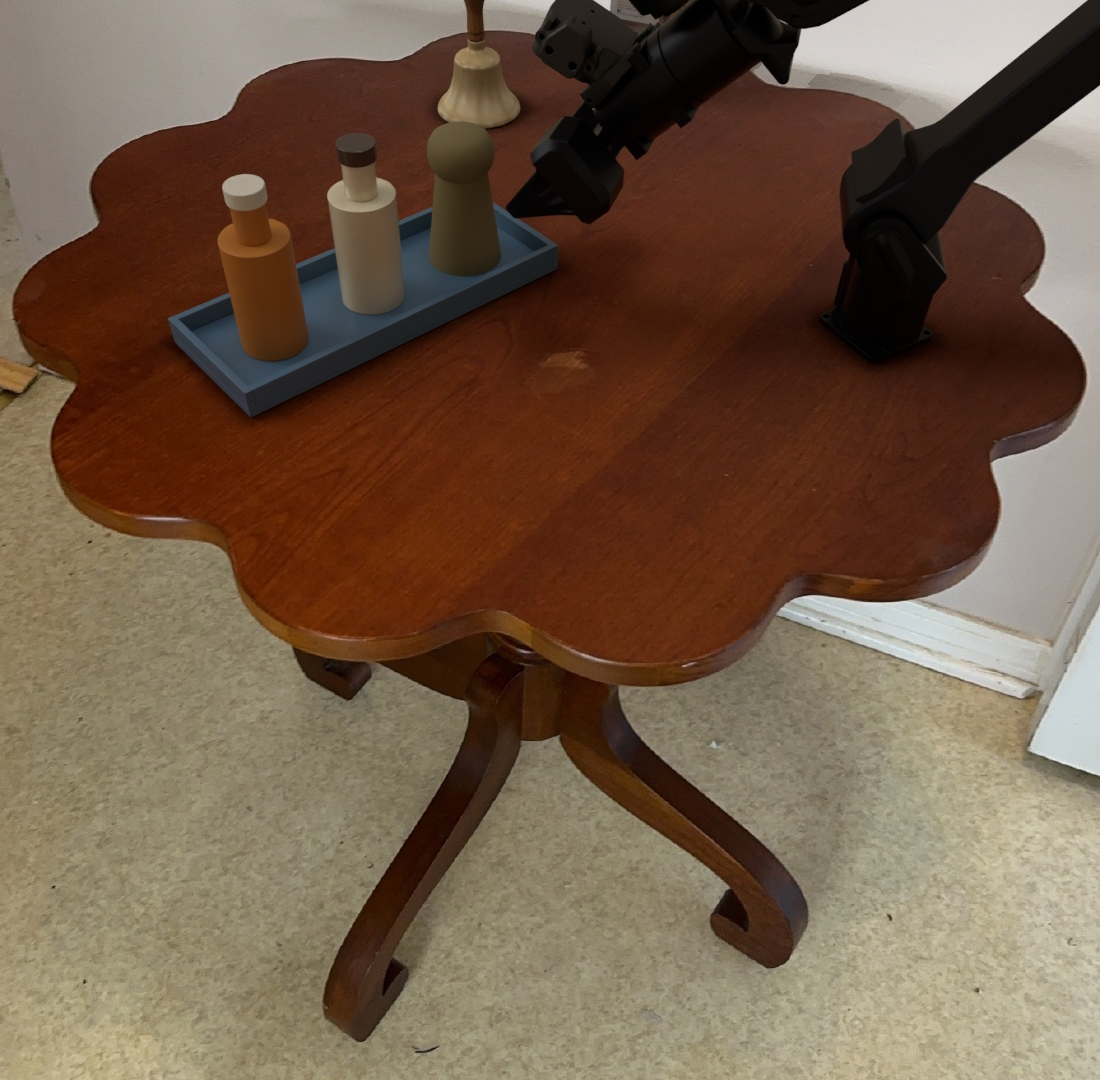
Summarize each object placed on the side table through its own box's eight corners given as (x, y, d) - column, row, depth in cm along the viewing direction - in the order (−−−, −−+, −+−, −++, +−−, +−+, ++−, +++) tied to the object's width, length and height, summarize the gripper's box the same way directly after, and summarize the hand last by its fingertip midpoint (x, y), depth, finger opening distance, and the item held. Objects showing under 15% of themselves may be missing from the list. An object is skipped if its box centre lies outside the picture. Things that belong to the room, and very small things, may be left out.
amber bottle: (319, 348, 82) (292, 192, 73) (256, 369, 80) (220, 212, 71) (293, 313, 85) (265, 158, 75) (232, 333, 83) (194, 176, 74)
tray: (474, 212, 97) (473, 188, 95) (557, 269, 91) (558, 245, 89) (174, 342, 84) (167, 318, 82) (250, 418, 78) (244, 393, 76)
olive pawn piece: (514, 263, 90) (514, 138, 82) (449, 284, 88) (442, 157, 80) (479, 228, 94) (475, 104, 85) (416, 247, 91) (406, 122, 83)
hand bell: (459, 136, 106) (452, -39, 94) (424, 100, 110) (412, -71, 99) (535, 118, 108) (537, -54, 97) (497, 83, 113) (494, -85, 101)
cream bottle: (416, 303, 86) (403, 149, 77) (357, 322, 84) (337, 167, 75) (388, 271, 89) (373, 119, 79) (331, 288, 87) (308, 135, 78)
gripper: (648, -89, 76) (503, 45, 87) (563, 16, 64) (407, 157, 75) (743, 43, 80) (593, 155, 91) (679, 164, 69) (515, 278, 79)
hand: (531, 182), depth 84 cm, fingers open, 9 cm apart
